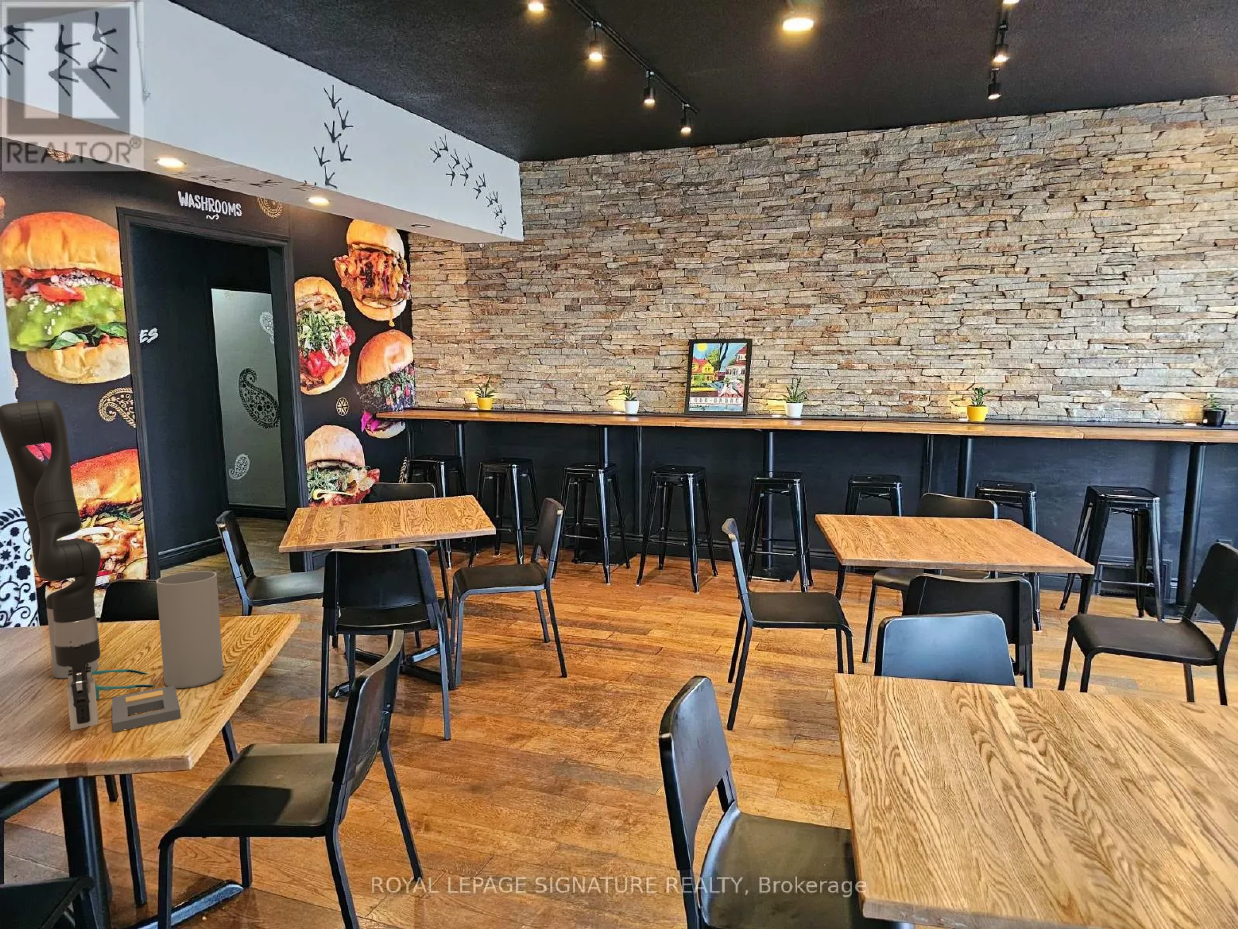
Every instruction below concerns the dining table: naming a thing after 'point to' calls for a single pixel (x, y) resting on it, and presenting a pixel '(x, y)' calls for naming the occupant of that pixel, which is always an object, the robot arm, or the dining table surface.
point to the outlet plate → (145, 708)
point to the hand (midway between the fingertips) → (84, 718)
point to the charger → (92, 708)
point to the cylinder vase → (190, 628)
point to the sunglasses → (107, 688)
